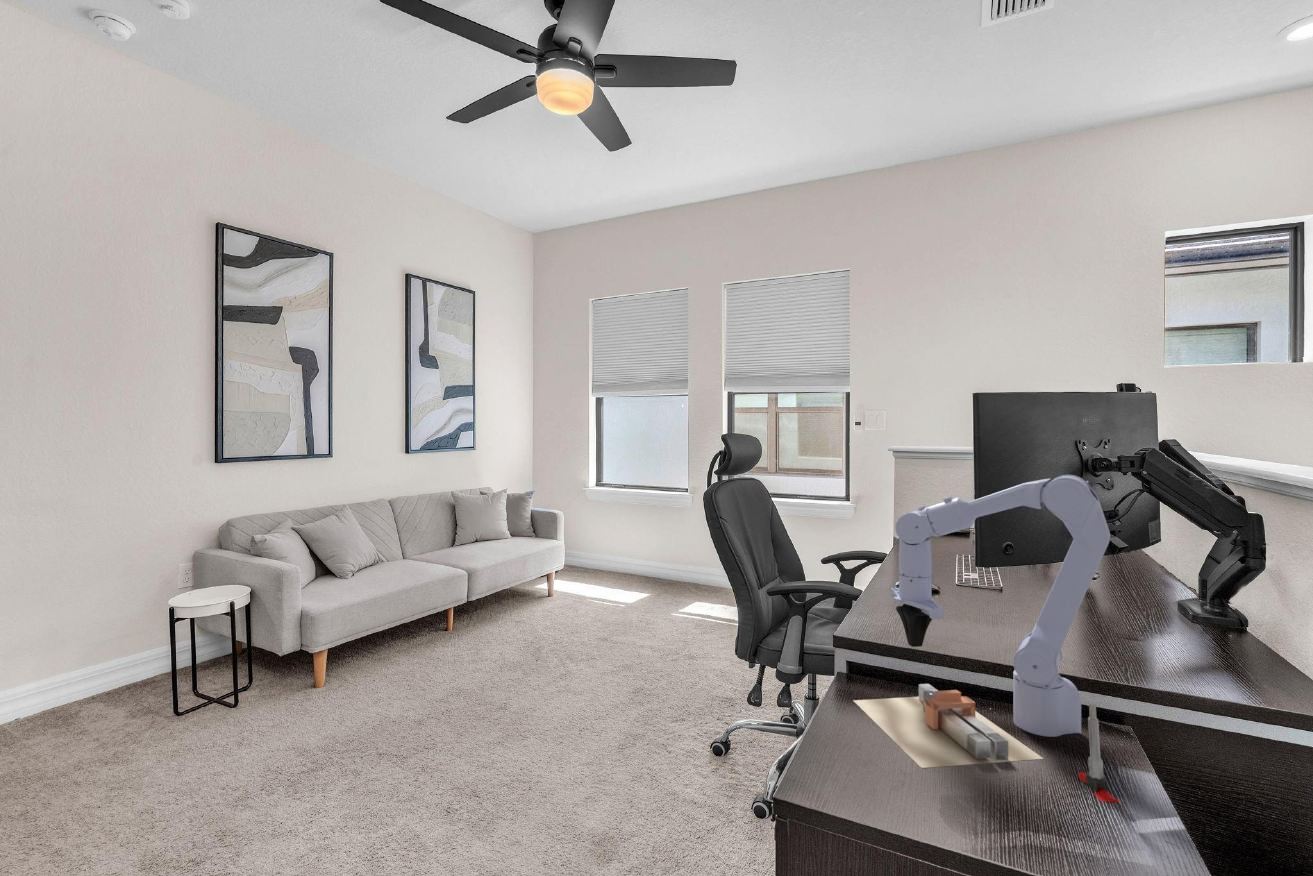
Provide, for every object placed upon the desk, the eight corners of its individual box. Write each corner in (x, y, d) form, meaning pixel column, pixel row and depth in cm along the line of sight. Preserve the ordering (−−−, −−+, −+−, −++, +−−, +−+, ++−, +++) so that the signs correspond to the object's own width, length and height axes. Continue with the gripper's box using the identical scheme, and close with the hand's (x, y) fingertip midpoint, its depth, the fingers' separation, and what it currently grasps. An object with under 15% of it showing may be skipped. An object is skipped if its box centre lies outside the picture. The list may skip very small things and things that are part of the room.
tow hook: (1054, 816, 79) (1125, 814, 78) (1048, 719, 79) (1120, 717, 78) (1018, 779, 87) (1083, 778, 87) (1013, 692, 87) (1078, 691, 87)
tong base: (928, 698, 111) (928, 681, 111) (1008, 759, 90) (1008, 738, 90) (909, 699, 110) (909, 682, 110) (984, 761, 89) (984, 740, 89)
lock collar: (966, 719, 102) (966, 689, 102) (975, 726, 99) (975, 695, 99) (925, 722, 101) (925, 691, 101) (933, 729, 98) (933, 697, 98)
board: (952, 699, 112) (952, 694, 112) (1043, 765, 90) (1043, 758, 90) (853, 705, 110) (853, 700, 110) (921, 774, 87) (921, 767, 87)
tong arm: (936, 714, 103) (936, 700, 103) (990, 758, 89) (990, 741, 89) (925, 715, 103) (925, 700, 103) (977, 759, 89) (977, 741, 89)
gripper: (876, 566, 119) (876, 633, 119) (916, 584, 105) (916, 660, 105) (909, 565, 120) (909, 632, 120) (953, 583, 105) (953, 658, 105)
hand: (915, 645), depth 112 cm, fingers closed
